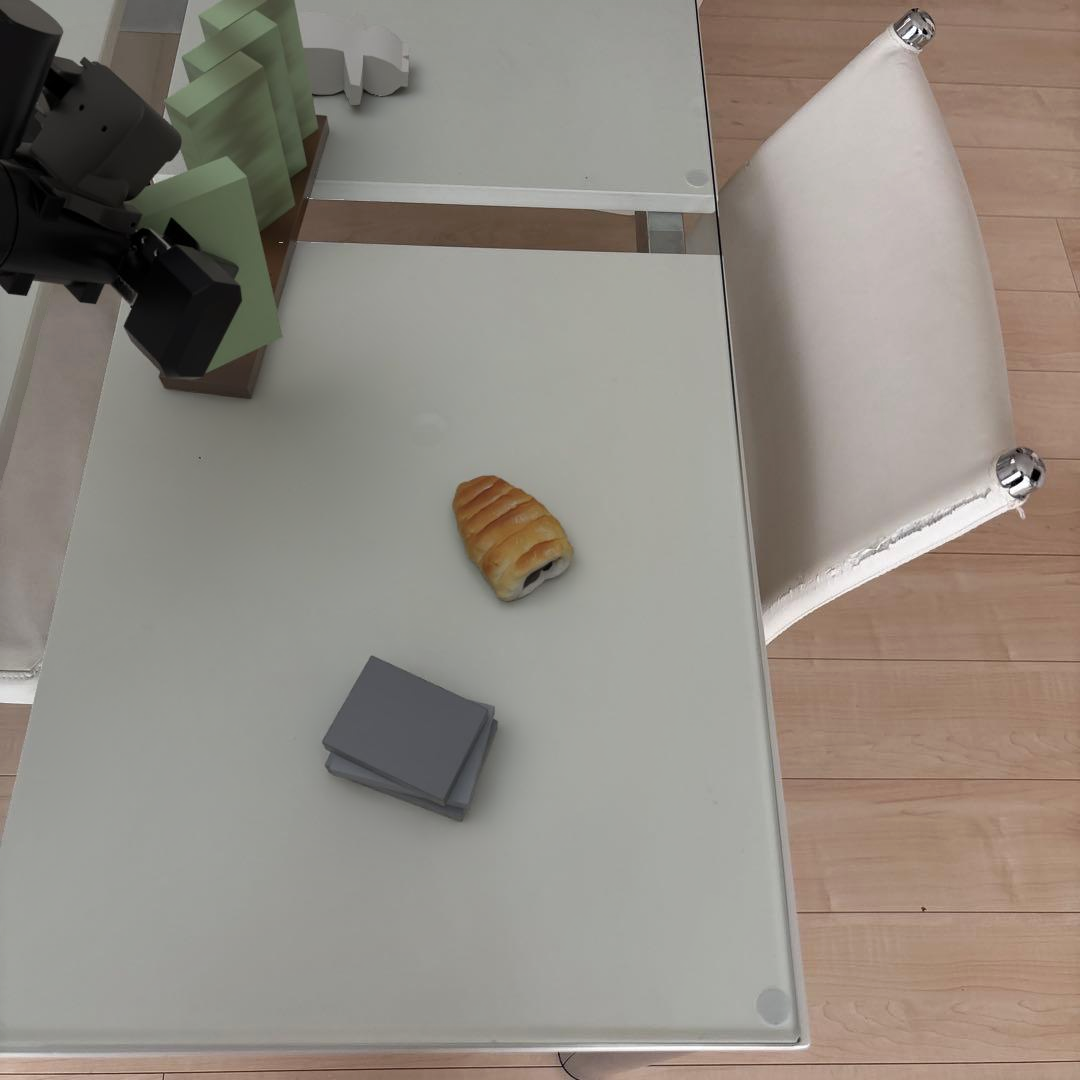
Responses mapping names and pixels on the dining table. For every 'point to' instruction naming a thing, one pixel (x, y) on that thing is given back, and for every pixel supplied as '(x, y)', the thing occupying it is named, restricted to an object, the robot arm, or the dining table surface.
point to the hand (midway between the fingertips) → (221, 259)
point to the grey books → (410, 739)
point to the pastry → (509, 536)
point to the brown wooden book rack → (252, 138)
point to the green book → (220, 243)
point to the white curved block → (352, 56)
